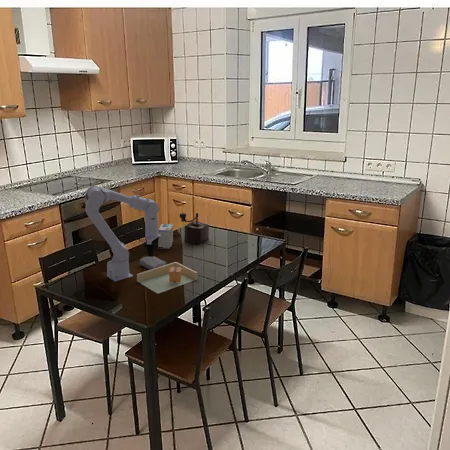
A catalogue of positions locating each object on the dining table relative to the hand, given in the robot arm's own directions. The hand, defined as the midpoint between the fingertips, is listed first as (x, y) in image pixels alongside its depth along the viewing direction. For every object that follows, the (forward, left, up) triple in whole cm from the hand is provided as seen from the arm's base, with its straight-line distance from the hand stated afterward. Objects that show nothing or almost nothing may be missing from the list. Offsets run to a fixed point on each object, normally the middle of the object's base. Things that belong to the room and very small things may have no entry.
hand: (152, 253), depth 208 cm
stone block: (+4, +5, -10) cm, 12 cm away
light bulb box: (+26, +25, -10) cm, 37 cm away
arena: (-1, -13, -9) cm, 16 cm away
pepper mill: (+41, +19, -10) cm, 46 cm away
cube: (+2, -15, -9) cm, 17 cm away
